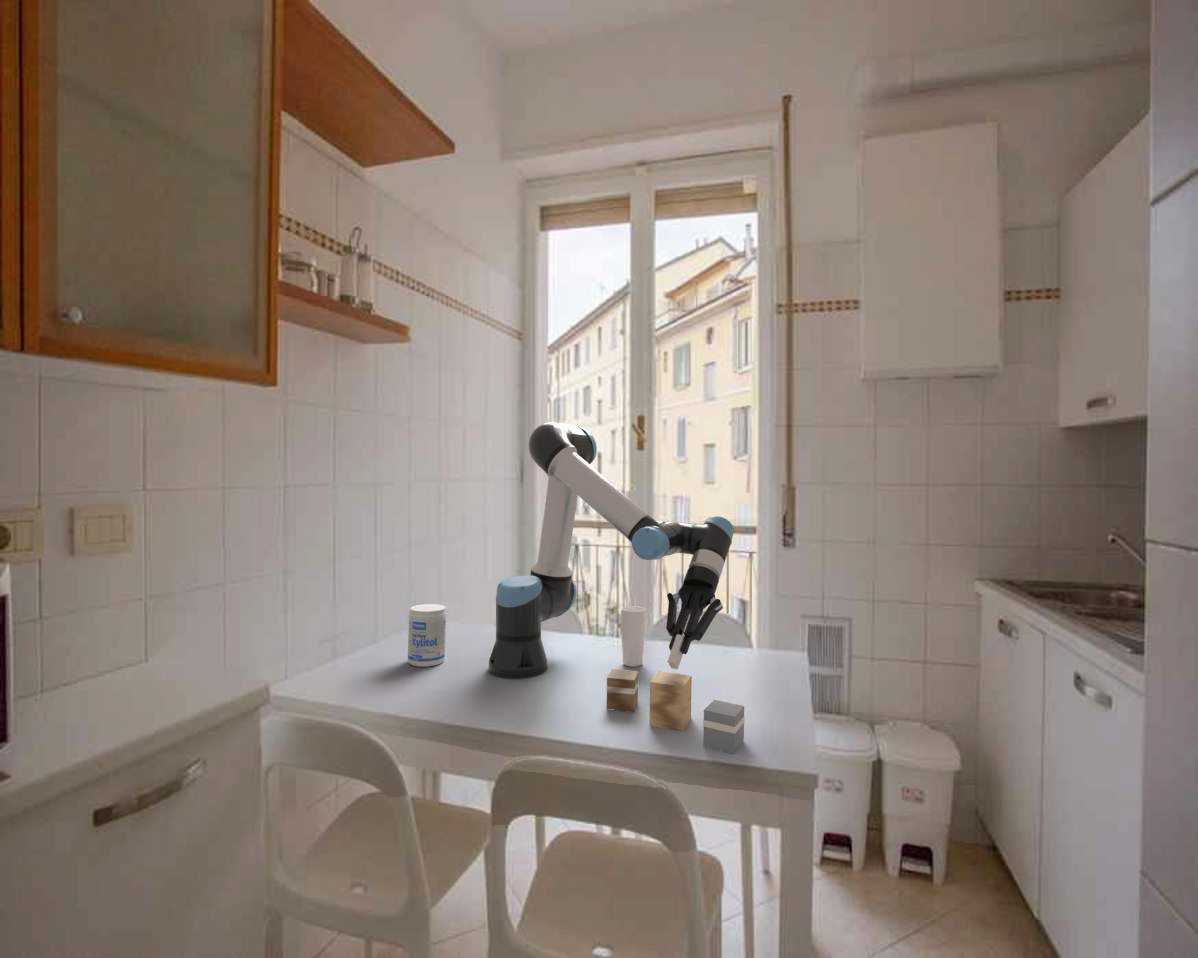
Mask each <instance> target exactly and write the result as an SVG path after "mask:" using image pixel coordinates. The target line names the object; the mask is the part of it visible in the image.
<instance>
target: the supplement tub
mask: <svg viewBox="0 0 1198 958" xmlns="http://www.w3.org/2000/svg"><path fill="white" fill-rule="evenodd" d="M446 625H447V610H446V606H445V605H443V604H438V603H437V604H436V603H425V604H424V603H423V604H418V605H417V604H416V605H413V606H411V607H410V608H409V615H408V640H407V662H408V664H409V665H411V666H414V667H417V668H418V667H419V668H425V667H427V668H428V667H433V666H437V665H440V664H442V663H443V662H444V661H445V659H446V658H445V657H446V629H447V628H446V627H447V626H446Z"/></svg>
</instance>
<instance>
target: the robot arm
mask: <svg viewBox="0 0 1198 958" xmlns="http://www.w3.org/2000/svg"><path fill="white" fill-rule="evenodd" d="M597 448H598V447H597V442H596V440H595V438H594V436H593V434H592V433H591V432H590V431H589V430H587V429H586V428H584V427H583V426H582V427H581V426H578V425H575V424H565V423H559V422H545V423H543V424H540V425H538V426H537V427H536V428H535V429H534V430H533V431H532V433H531V435H530V436H529V440H528V452H529V454H530V457H531V459H532V460H533V461H534V463H536V465H537V466H538V468H540V469H541V470H542V471H543V472H544V473H545V474H546V476H547V478H548V481H547V482H548V483H547V489H546V495H545V496H546V497H545V503H544V510H543V518H542V525H541V526H542V528H541V533H540V540H539V548H538V555H537V562H536V563H535V564H533V565H531V568H530V572H529V573H530V574H529V575H527V574H526V575H518V576H510V577H507V578H504V579H503V580H501V581H500V582H499V583H498V584H497V588H496V595H495V604H496V605H495V642H494V645H493V648H492V651H491V654H490V657H489V660H488V672H489V673H490V674H491V675H493V676H497V677H500V678H503V679H504V678H505V679H526V678H532V677H536V676H539V675H542V674H544V673H545V672H547V670H548V658H547V655H546V652H545V648H544V644H543V642H542V622H544V621H547V620H551V619H553V618H558V617H560V616H562V615H563V614H565V613H567V612H568V611H569V610H571V608H572V607H573V605H574V604H575V602H576V600H577V586H576V584H575V583H574V579H573V570H571V569H570V567H569V562H570V561H569V560H570V556H571V555H570V553H571V546H572V539H573V534H574V533H573V532H574V524H575V519H576V518H575V517H576V511H577V509H576V508H577V504H578V497H579V498H581V499H582V501H584V502H585V503H586V504H587V505H588V506H590V508H591V509H593V510H594V511H595V512H596V513H598V515H600V516H601V518H603V519H604V520H605V521H607V522H608V523H609V524H610V525H612V527H613V528H614V529H615V530H616V531H618V532H619V533H620V534H621V535H623V536H624V537H625V538H626V539H627V540H628V541H629V542H630V543H631V547H632V550H633V552H634V554H635V555H636V556H637V557H638V558H640V559H641V560H644V561H653V560H654V561H655V560H660V559H662V558H664V557H666V556H667V557H668V556H671V555H674V554H684V555H692V558H691V560H690V562H689V564H688V569H687V570H686V573H685V576H684V579H683V583H682V586H681V588H679V589H678V592H676V593H673V594H672V593H671V592H669V593H667V595H666V597H667V600H668V607H667V618H666V626H665V629H666V632H667V633H668V635H669V637H671V639H670V641H669V644H668V649H669V651H670V653H669V656H668V659H667V663H668V665H669V667H670V669H673V670H678V669H679V668H680V667H679V666H680V664H681V661H682V658H683V655H687V653H688V652H689V649H690V646H691V643H692V641H698V642H699V641H701V640H702V639H703V637H704V635H705V634H706V632H707V630H708V629H709V627H710V625H711V624H712V622H713V620H714V619H715V617H716V615H718V613H719V612H720V611H722V610H723V608H724V606H723V604H722V601H721V599H719V598H716V592H717V589H718V585H719V582H720V578H721V575H722V573H723V570H724V569H723V568H724V566H725V562H726V560H727V557H728V553H729V550H730V548H731V545H732V544H733V543H732V542H733V541H732V540H733V537H734V534H735V533H734V532H735V527H734V525H733V524H732V522H731V521H730V520H728V519H727V518H725V517H724V516H721V515H713V516H710V517H708V518H706V519H705V521H704V522H703V524H699V523H698V524H695V523H685V522H678V521H677V522H676V521H672V520H657V521H656V520H655V519H654V518H653V517H652V516H650V515H649V514H648V513H647V512H646V511H645V510H644V509H642V508H641V507H640V506H639V505H638V504H636V502H634V501H633V500H631V498H629V497H628V496H627V495H626V494H625V493H624V492H622V491H621V490H620V489H619V488H618V487H617V486H616V485H614V484H613V483H612V482H610V481H609V480H608V479H607V478H605V476H603V475H602V474H601V473H600V471H597V469H595V468H594V467H593V466H592V465H591V464H592V463H593V462H594V461H595V458H596V455H597V451H598V449H597ZM679 600H680V601H681V604H680V605H681V608H680V611H679V613H678V606H677V605H678V604H679ZM704 609H706V610H705V611H704ZM677 613H678V617H677ZM702 614H703V615H702Z"/></svg>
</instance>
